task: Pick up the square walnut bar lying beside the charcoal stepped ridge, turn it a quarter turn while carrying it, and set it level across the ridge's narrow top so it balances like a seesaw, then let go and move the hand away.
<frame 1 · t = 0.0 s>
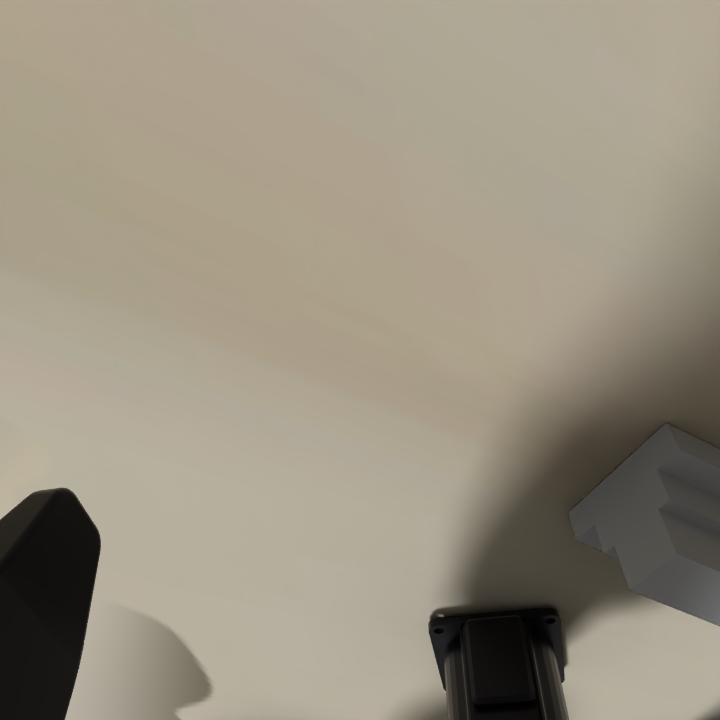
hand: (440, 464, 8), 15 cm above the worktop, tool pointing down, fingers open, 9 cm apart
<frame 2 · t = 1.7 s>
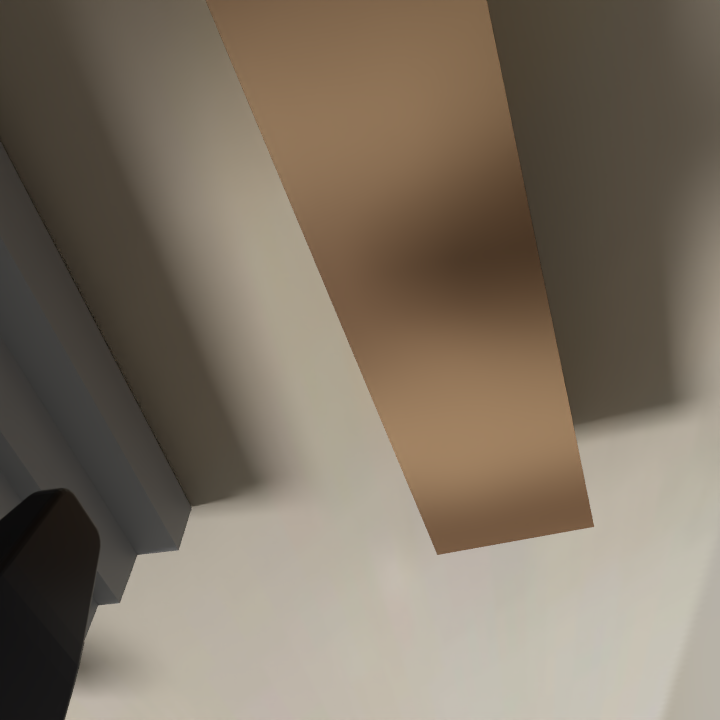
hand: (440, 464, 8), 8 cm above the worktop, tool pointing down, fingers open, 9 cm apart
rod: (423, 194, 14), on the worktop
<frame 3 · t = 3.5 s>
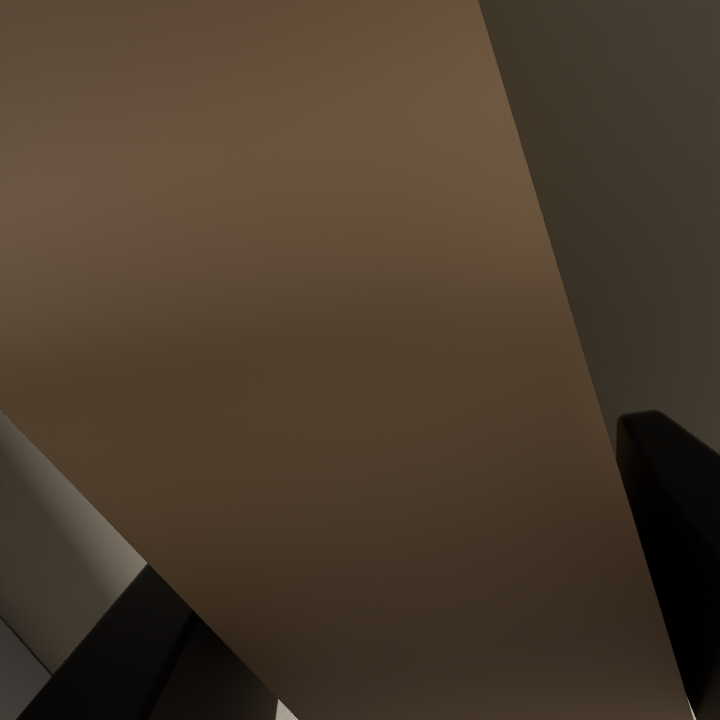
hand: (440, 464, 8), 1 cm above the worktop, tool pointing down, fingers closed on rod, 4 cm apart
rod: (432, 402, 9), on the worktop, touching gripper
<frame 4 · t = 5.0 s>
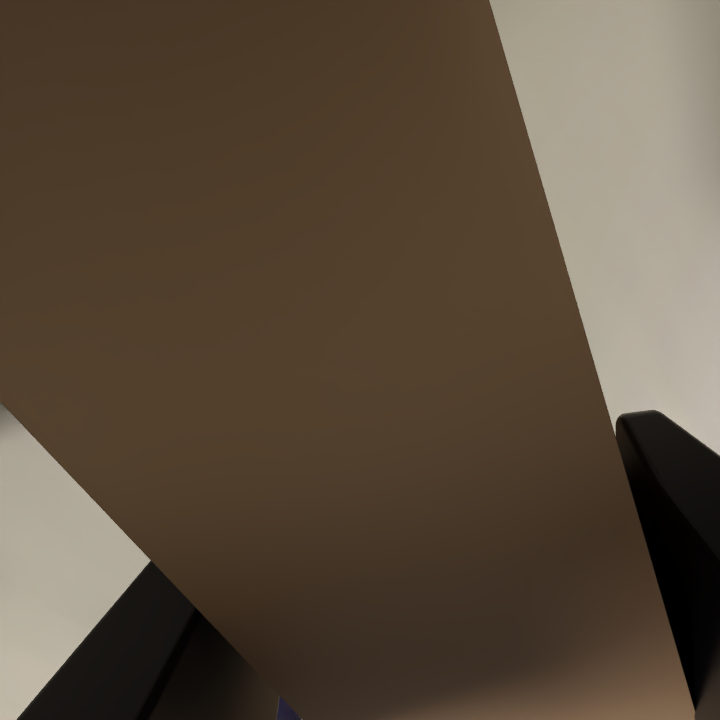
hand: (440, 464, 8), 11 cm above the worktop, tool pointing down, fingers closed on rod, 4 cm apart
flask: (207, 653, 31), on the worktop
rod: (435, 401, 9), point 9 cm above the worktop, touching gripper
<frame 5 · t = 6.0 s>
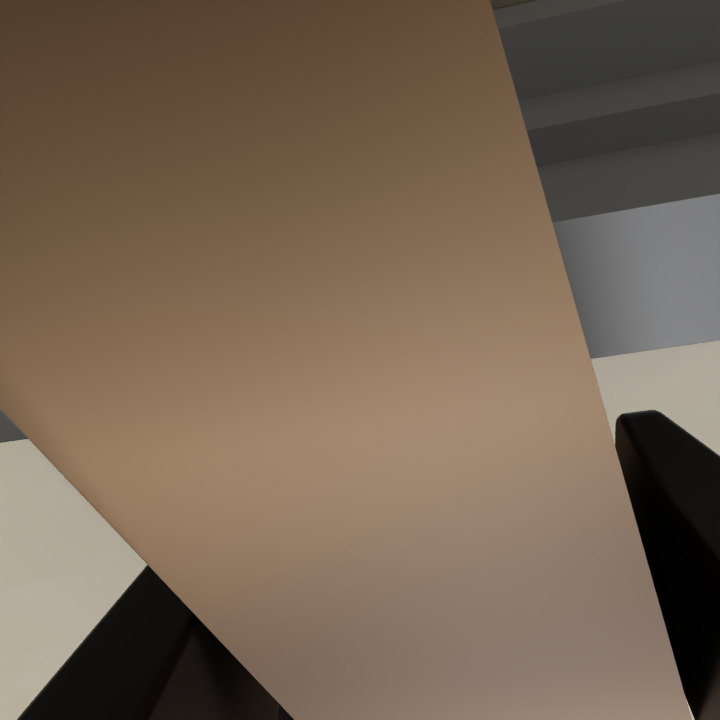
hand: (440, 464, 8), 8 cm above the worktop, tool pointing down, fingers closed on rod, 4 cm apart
rod: (433, 405, 9), point 7 cm above the worktop, touching gripper
ridge: (418, 186, 14), on the worktop
when the fingers open (7 cm above the worktop, at t = 6.8 s): rod stays where it is, resting on ridge.
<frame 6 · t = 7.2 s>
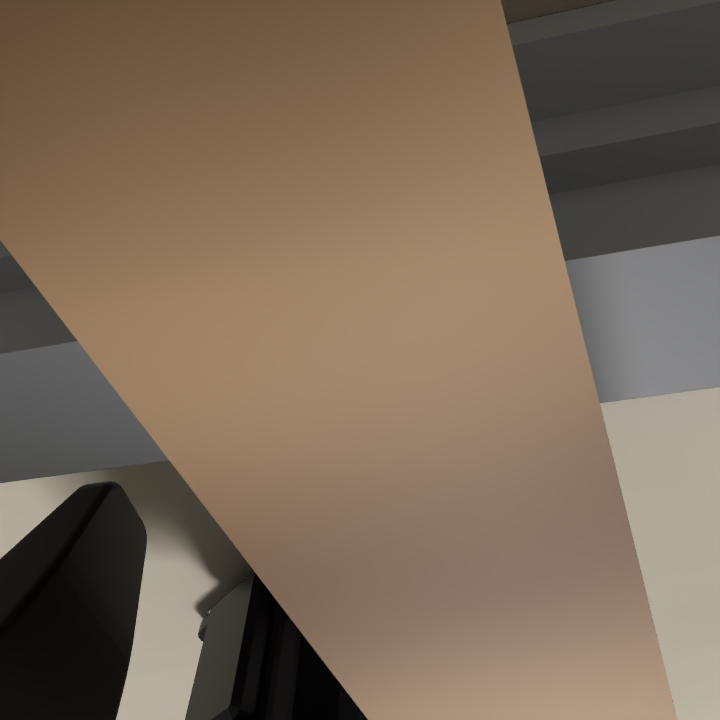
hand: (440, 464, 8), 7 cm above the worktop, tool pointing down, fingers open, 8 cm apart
rod: (430, 364, 9), point 5 cm above the worktop, touching ridge
ridge: (419, 209, 13), on the worktop
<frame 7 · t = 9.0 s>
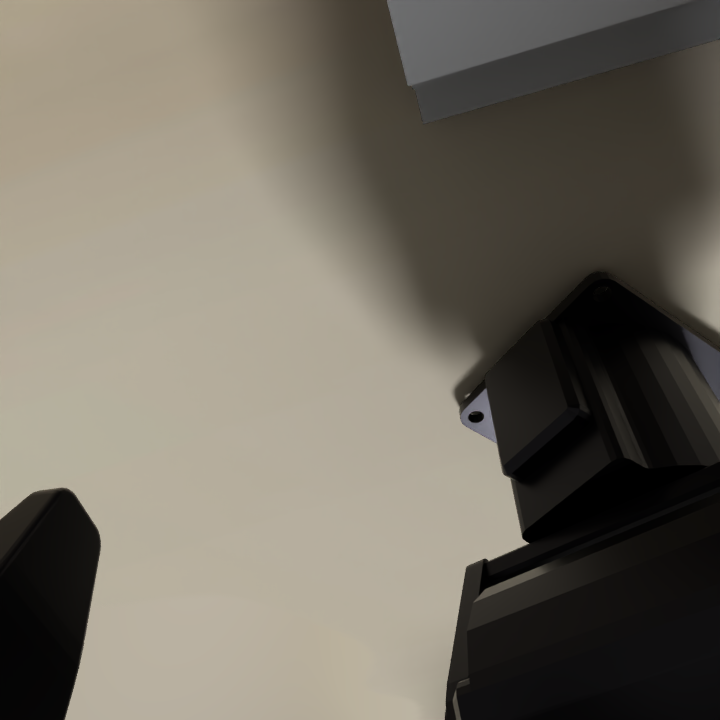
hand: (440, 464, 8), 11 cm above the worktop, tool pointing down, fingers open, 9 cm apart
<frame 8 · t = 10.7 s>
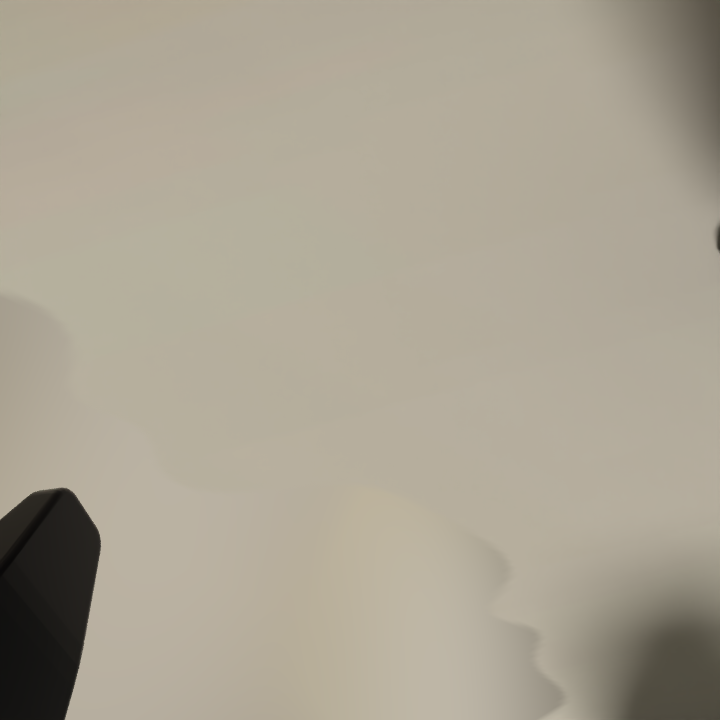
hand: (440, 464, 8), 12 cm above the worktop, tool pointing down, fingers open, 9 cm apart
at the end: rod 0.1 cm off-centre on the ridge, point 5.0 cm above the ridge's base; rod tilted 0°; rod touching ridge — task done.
